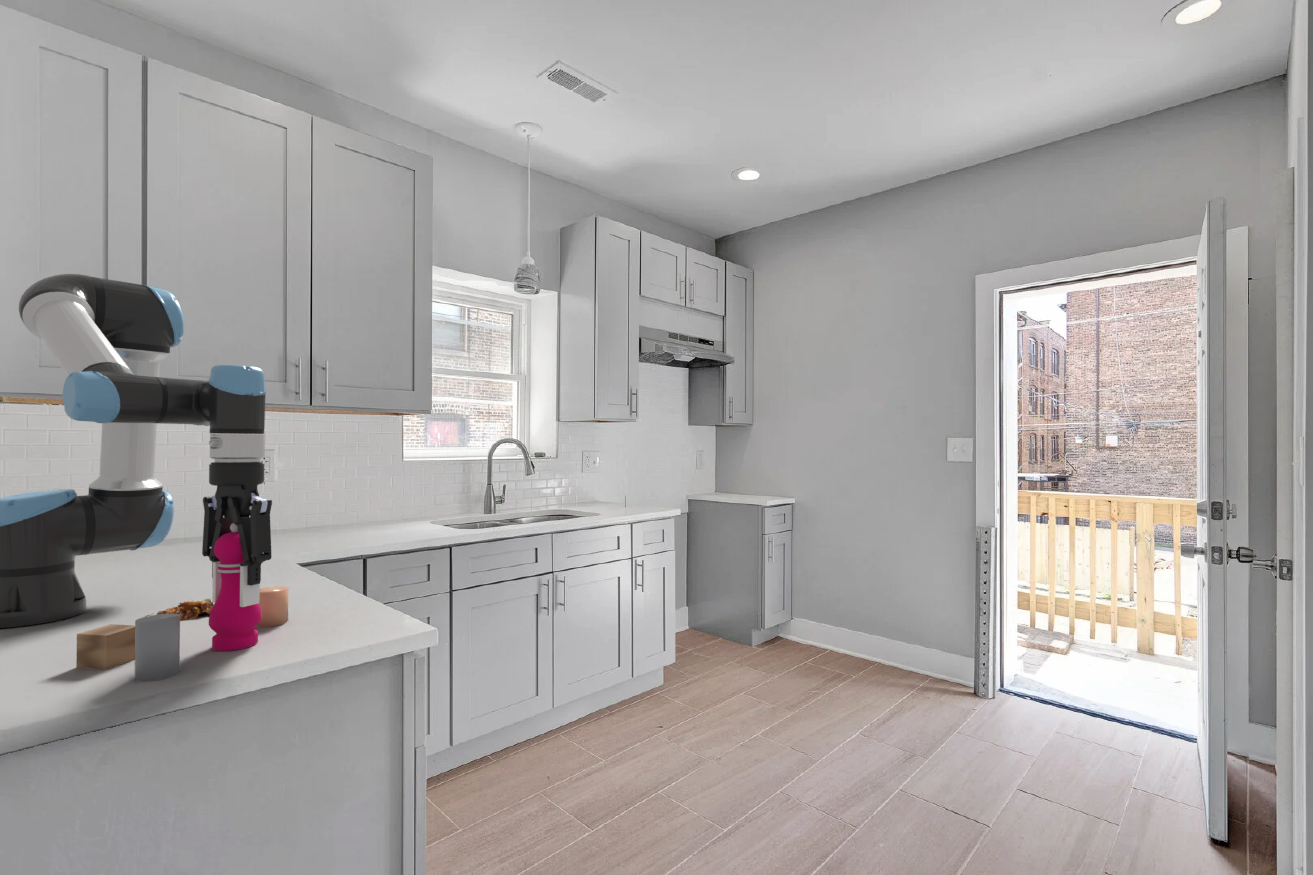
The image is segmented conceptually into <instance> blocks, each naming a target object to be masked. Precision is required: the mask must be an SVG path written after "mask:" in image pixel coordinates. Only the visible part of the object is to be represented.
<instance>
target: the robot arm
mask: <svg viewBox="0 0 1313 875" xmlns="http://www.w3.org/2000/svg"><path fill="white" fill-rule="evenodd" d="M18 314H19V317H20V319H21V321H22V323H23V325H24V327H26V329H27V330H28V331H29V332H30V334H32V335H33V336H35V337H37V338H38V339H41V340H43V342H44V343H45V345H46V346H47V348H48V350H49V351H50V352H51V354H52V356H53V357H54V358H55V360H56V361H57V363H58V364H59V366H60V367H61V369H62V371H63V372H64V373H65V375H66V378H65V380H64V383H63V387H62V404H63V406H64V412H65V414H66V415H67V417H69V418H70V419H71V420H74V421H78V422H91V423H92V422H93V423H96V424H101V436H100V437H101V439H100V456H99V457H100V458H99V460H100V461H99V476H98V477H97V479H95V480H94V481H92V482H91V483H89V485H88V494H85V495H78V493H77V492H76V490H75V489H72V488H63V489H62V488H60V489H59V488H58V489H52V490H50V489H48V490H47V489H46V490H43V491H42V490H41V491H39V490H38V491H31V492H26V493H20V494H14V495H9V496H4V497H1V498H0V629H3V628H5V629H6V628H16V627H26V626H34V625H41V624H45V623H49V622H50V623H52V622H55V621H56V622H57V621H60V620H61V621H62V620H65V619H68V618H72V617H75V616H77V615H81V614H83V613H84V612H86V611H87V597H86V595H85V592H84V590H83V588H82V586H81V583H80V581H79V579H78V576H77V574H76V570H75V568H76V565H75V563H76V562H75V560H76V557H77V556H86V555H94V554H102V553H103V554H104V553H111V552H112V553H113V552H119V551H120V552H122V551H123V552H124V551H136V550H139V549H144V548H146V549H147V548H151V547H152V548H153V547H155V546H158V545H160V544H161V543H162V542H163V541H164V540H165V539H166V538H167V536H168V535H169V533H170V531H171V528H172V525H173V522H174V515H175V506H174V505H173V504H174V499H173V497H172V495H171V494H170V492H168V491H165V490H163V489H164V486H163V483H162V482H161V481H159V480H158V479H157V478H156V477H155V467H156V466H155V462H156V448H157V447H156V446H157V443H156V441H157V429H158V428H157V426H158V424H165V425H167V424H168V425H193V426H206V427H208V426H209V441H208V445H209V458H211V460H213V459H214V460H213V461H214V462H210V464H208V483H209V484H210V485H211V486H216V490H215V494H214V495H210V496H203V498H202V504H203V510H204V513H203V514H204V516H203V517H204V518H203V529H202V531H203V532H202V552H201V553H202V556H203V557H208V559H209V561H210V562H211V563H212V565H211V570H212V571H211V578H212V589H211V590H212V592H211V593H212V597H211V602H213V603H215V602H216V600H217V598H218V596H219V593H220V590H221V581H222V580H221V573H220V572H218V571H217V570H218V567H219V566H218V563H220V560H219V559H218V558H217V557H216V556H215V554H214V546H215V543H216V541H217V540H218V539H219V538H220V537H221V536H222V535H224V534H226V533H229V532H232V531H231V530H230V526H231V524H232V523H234V524H235V525H237V528H238V533H239V538H240V543H241V549H242V554H243V559H244V562H243V563H240V607H246V606H250V605H254V604H258V603H259V595H260V588H261V587H260V586H261V585H260V584H261V580H262V578H261V577H262V573H261V572H262V564H263V563H265V562H267V561H270V560H271V559H272V533H271V531H272V529H271V510H272V507H273V506H272V505H273V500H272V499H271V498H262V497H261V496H260V493H259V490H258V486H259V485H262V484H264V482H265V463H264V462H263V461H261V459H264V458H265V457H266V449H265V448H266V441H265V440H266V439H265V436H266V434H265V429H266V428H265V423H266V422H265V420H266V394H267V388H266V380H265V379H266V378H265V373H264V371H263V370H262V368H260V367H256V366H250V365H240V364H217V365H216V364H215V365H213V366H212V367H211V369H210V375H209V378H208V380H204V379H203V380H202V379H201V380H200V379H187V378H186V379H185V378H175V377H174V378H172V377H160V372H161V371H160V369H161V367H160V366H161V362H162V361H163V360H165V359H166V358H167V357H169V356H170V355H171V354H170V353H171V348H175V347H177V346H179V345H180V344H181V342H182V341H183V336H184V332H185V321H184V316H183V315H184V314H183V311H182V308H181V305H180V302H179V301H178V299H177V298H176V297H175V295H174V294H173V293H171V292H170V291H168V290H165V289H163V288H157V287H154V286H149V285H146V284H139V283H133V282H126V281H121V280H120V281H119V280H114V279H108V278H107V279H106V278H102V277H101V278H100V277H95V276H91V275H86V274H79V273H64V274H63V273H62V274H55V275H52V276H48V277H44V278H42V279H40V280H37V281H36V282H34V283H33V284H31V285H30V286H29V287H28V288H27V289H25V291H24V292H23V293H22V295H21V296H20V299H19V302H18ZM251 555H252V557H251Z"/></svg>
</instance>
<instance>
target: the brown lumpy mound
mask: <svg viewBox="0 0 1313 875" xmlns="http://www.w3.org/2000/svg"><path fill="white" fill-rule="evenodd" d="M214 604H215V603H214V602H212V597H211V598H204V599H199V600H196V601H194V600H192V601H183V602H179V604H178V605H177V606H172V607H169V608H166V610H158V612H157V613H150V614H146V615H144V617H146V616H151V615H158V614H179V615H180V622H183V621H190V620H195V619H198V616H199V615H201V614H203V613H204V612H205V613H207V614H209V615H210V612H211V610H212V608H213V606H214Z"/></svg>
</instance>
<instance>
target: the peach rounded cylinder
mask: <svg viewBox="0 0 1313 875" xmlns="http://www.w3.org/2000/svg"><path fill="white" fill-rule="evenodd" d="M289 589H290V588H289V587H288V586H281V585H278V586H266V587H260V595H259V604H260V607H261V613H262V618H261V620H260V622H259V623H258V624H257V625H256V627H255V628H266V627H267V628H268V627H276V626H280V625H284V624H286V623H287V621H288V622H289ZM275 625H276V626H275Z"/></svg>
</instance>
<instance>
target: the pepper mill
mask: <svg viewBox="0 0 1313 875" xmlns="http://www.w3.org/2000/svg"><path fill="white" fill-rule="evenodd" d="M230 530H231V531H232V532H229V533H226V534H224V535H222V536H221V537H220V538H219V539H218V540H217V541H216V543H215V546H214V554H215V556H216V557H217V558H218V559H219V560H220V563H218V566H219V567H218V570H217V571H218V572H220V573H221V580H222V581H221V590H220V593H219V596H218V598H217V600H216V602H214V603H213V604H214V606H213V608H212V610H211V612H210V614H209V616H208V626H209V628H210V629H211V630H212V631H213V632H214V633H216V634H215V635H213V636H212V638H211V649H212V650H215V651H217V652H230V651H237V650H242V649H247V648H250V647H252V646H255V645H257V643H258V642H259V630H258V629H255V628H257V627H256V625H257V624H258V623H259V622H260V620H261V618H262V613H261V607H260V604H259V603H258V604H254V605H250V606H246V607H240V563H243V562H244V559H243V554H242V549H241V543H240V538H239V533H238V528H237V525H235V524H234V523H232V524H231V526H230ZM251 557H252V555H251Z"/></svg>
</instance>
